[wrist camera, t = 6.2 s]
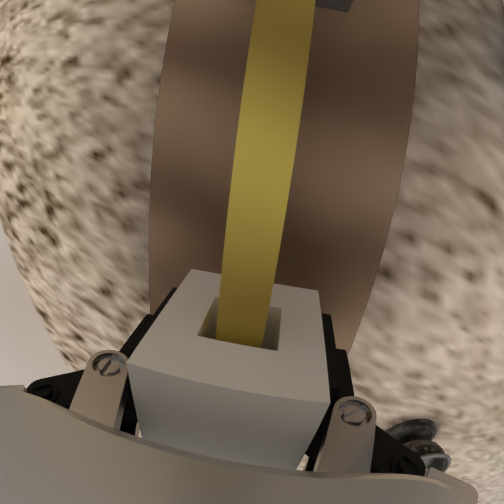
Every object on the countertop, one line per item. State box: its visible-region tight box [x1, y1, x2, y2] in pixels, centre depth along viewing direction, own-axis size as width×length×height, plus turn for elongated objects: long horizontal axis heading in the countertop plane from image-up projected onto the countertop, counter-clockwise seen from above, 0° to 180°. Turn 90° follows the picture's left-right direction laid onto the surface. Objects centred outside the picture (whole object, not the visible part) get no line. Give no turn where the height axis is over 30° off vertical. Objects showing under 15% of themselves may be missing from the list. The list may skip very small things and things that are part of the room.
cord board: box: [149, 0, 419, 356], centre depth 9 cm, size 22×10×8 cm, turn 173°
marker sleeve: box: [127, 269, 330, 470], centre depth 9 cm, size 5×4×5 cm
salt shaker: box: [385, 419, 451, 472], centre depth 12 cm, size 6×6×12 cm
